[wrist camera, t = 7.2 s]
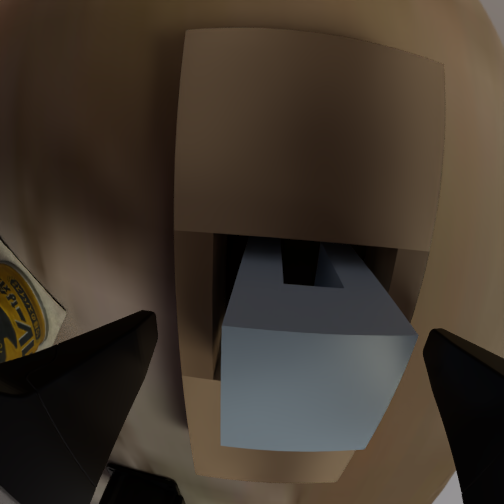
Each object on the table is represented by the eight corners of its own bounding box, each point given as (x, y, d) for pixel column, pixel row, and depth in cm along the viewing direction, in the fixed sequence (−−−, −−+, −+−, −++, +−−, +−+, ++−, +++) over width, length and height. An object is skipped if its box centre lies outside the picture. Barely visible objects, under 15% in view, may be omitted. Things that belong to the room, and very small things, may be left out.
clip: (243, 323, 13) (220, 445, 7) (249, 235, 12) (221, 325, 5) (332, 330, 13) (364, 449, 7) (349, 244, 12) (418, 335, 5)
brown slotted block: (204, 437, 16) (195, 474, 13) (206, 58, 10) (185, 30, 7) (331, 444, 15) (336, 481, 13) (407, 81, 9) (443, 64, 6)
